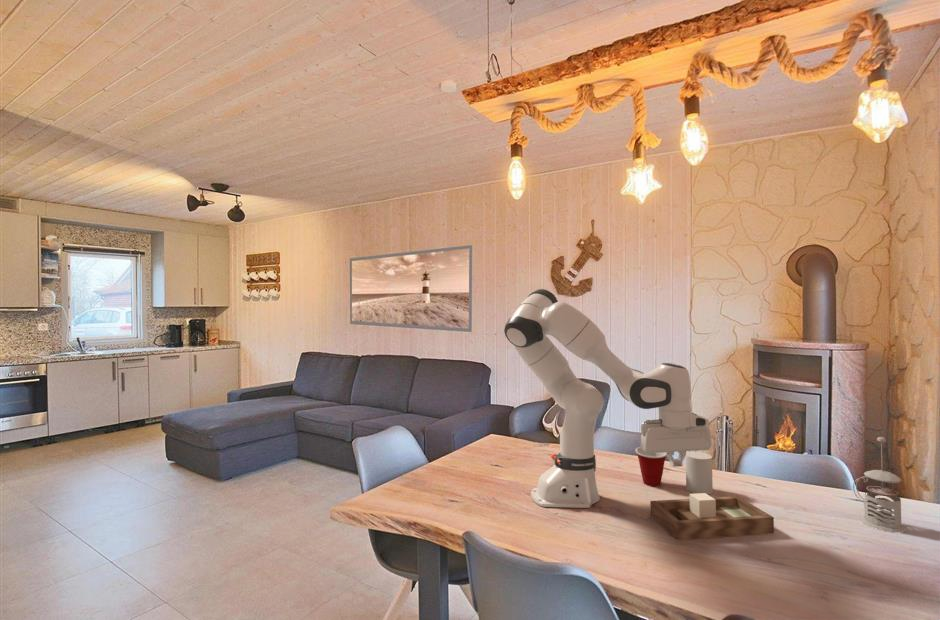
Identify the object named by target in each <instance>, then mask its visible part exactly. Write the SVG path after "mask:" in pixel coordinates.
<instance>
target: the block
mask: <svg viewBox="0 0 940 620" xmlns="http://www.w3.org/2000/svg"><path fill="white" fill-rule="evenodd" d="M689 499H690V511H691V512H692V513H694V514H695V515H696V516H698V517H699V518H708V517H716V500H715V499H714V498H712V496H710V495H707V494H706V493H698V494H694V493H689Z"/></svg>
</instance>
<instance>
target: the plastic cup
mask: <svg viewBox="0 0 940 620" xmlns="http://www.w3.org/2000/svg"><path fill="white" fill-rule="evenodd" d="M634 450H635V453H636V455H637V458H638V463H639V468H640V473H641V478H642V482H643V484H644V485H646V486H648V487H659V486H660V485H661V484H662V478H663V477H662V476H663V475H664V467H665V462H666V458H667V457H668V456H667V454H666V452H661V453H647V452H645V451H644V450H643V449H642V448H641V446H639V447H636V448H635V449H634Z"/></svg>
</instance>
